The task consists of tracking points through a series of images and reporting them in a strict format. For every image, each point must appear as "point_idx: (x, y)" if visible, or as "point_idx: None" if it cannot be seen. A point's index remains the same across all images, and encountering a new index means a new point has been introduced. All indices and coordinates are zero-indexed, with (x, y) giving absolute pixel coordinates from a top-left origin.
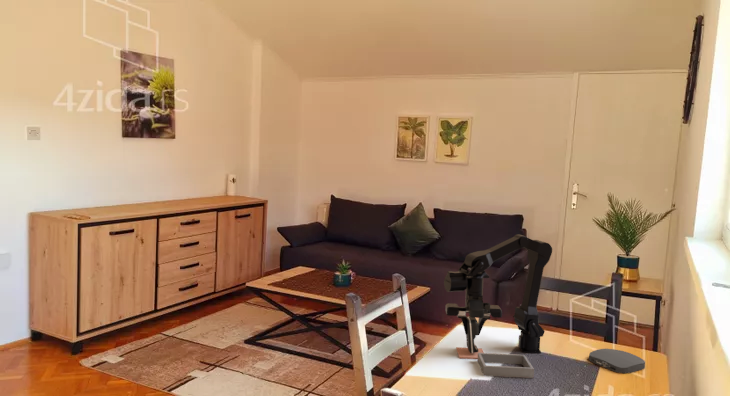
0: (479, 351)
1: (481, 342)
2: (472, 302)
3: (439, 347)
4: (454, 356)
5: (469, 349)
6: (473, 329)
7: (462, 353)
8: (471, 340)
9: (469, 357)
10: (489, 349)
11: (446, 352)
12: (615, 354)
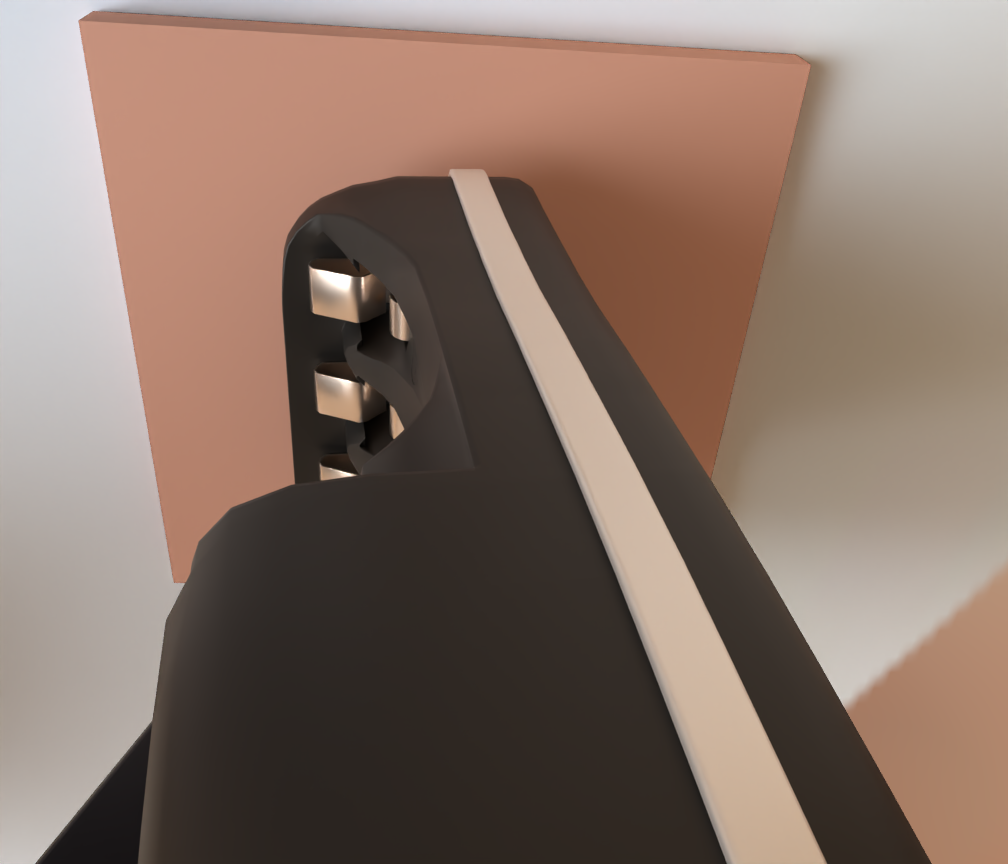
0: (237, 435)
1: None
2: None
3: (963, 590)
4: (866, 187)
5: (553, 230)
6: (532, 733)
7: (663, 292)
8: (548, 338)
9: (554, 48)
10: (20, 600)
11: (943, 390)
12: None
